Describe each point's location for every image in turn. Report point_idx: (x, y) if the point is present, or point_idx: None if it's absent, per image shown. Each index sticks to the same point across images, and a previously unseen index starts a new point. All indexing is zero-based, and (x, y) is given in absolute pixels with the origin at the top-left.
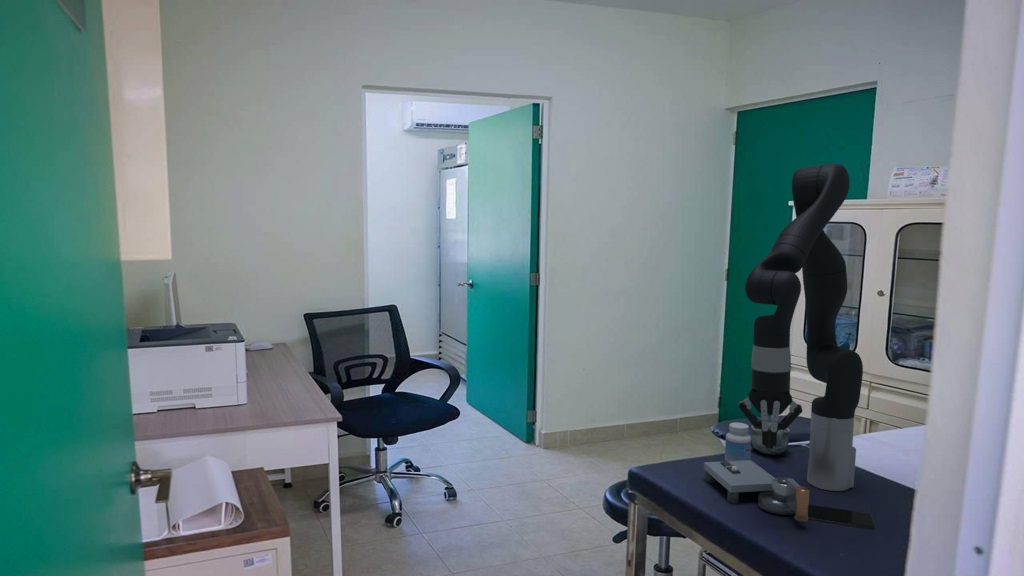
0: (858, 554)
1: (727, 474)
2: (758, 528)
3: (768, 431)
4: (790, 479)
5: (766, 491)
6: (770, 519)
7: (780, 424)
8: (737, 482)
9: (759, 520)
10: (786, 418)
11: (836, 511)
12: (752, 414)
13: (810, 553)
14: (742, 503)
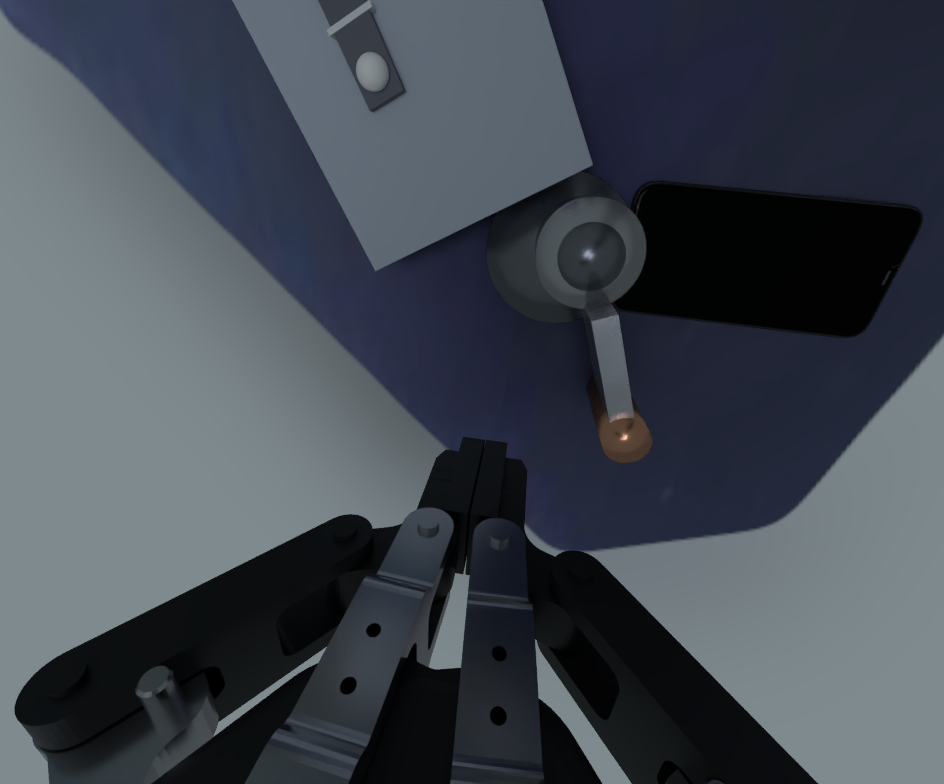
0: (712, 488)
1: (349, 131)
2: (477, 408)
3: (457, 564)
4: (605, 328)
5: None
6: (518, 343)
7: (542, 637)
8: (397, 224)
9: (484, 359)
10: (599, 716)
11: (780, 230)
12: (277, 655)
13: (588, 503)
14: None
